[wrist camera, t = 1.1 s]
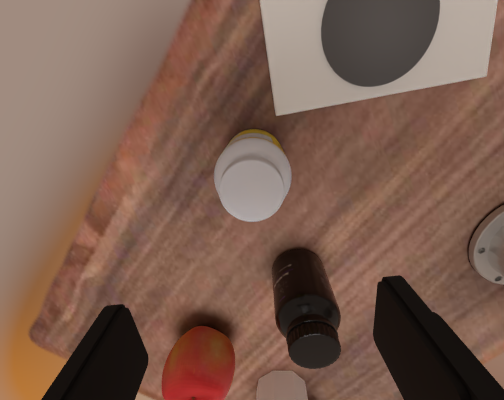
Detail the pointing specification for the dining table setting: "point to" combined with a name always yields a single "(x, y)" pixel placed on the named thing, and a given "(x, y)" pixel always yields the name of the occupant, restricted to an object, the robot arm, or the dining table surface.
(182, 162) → the dining table surface
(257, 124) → the dining table surface
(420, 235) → the dining table surface
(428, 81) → the board
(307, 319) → the supplement bottle
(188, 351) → the apple
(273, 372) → the mug
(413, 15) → the pad
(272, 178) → the pill bottle
